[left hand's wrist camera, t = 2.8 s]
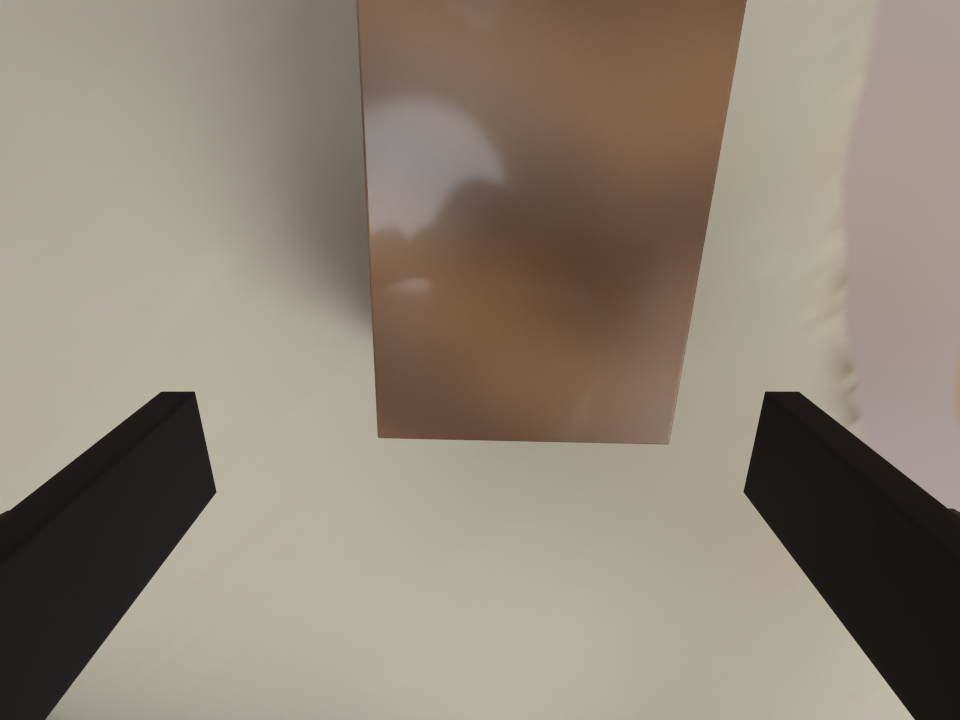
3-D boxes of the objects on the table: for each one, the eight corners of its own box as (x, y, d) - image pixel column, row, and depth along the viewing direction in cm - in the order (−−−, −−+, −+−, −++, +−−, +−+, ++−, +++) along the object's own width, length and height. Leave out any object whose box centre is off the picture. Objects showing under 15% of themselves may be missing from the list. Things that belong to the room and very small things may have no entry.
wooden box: (394, -83, 21) (345, -217, 13) (671, -74, 21) (783, -201, 13) (406, 356, 27) (377, 438, 19) (616, 362, 27) (669, 445, 20)
